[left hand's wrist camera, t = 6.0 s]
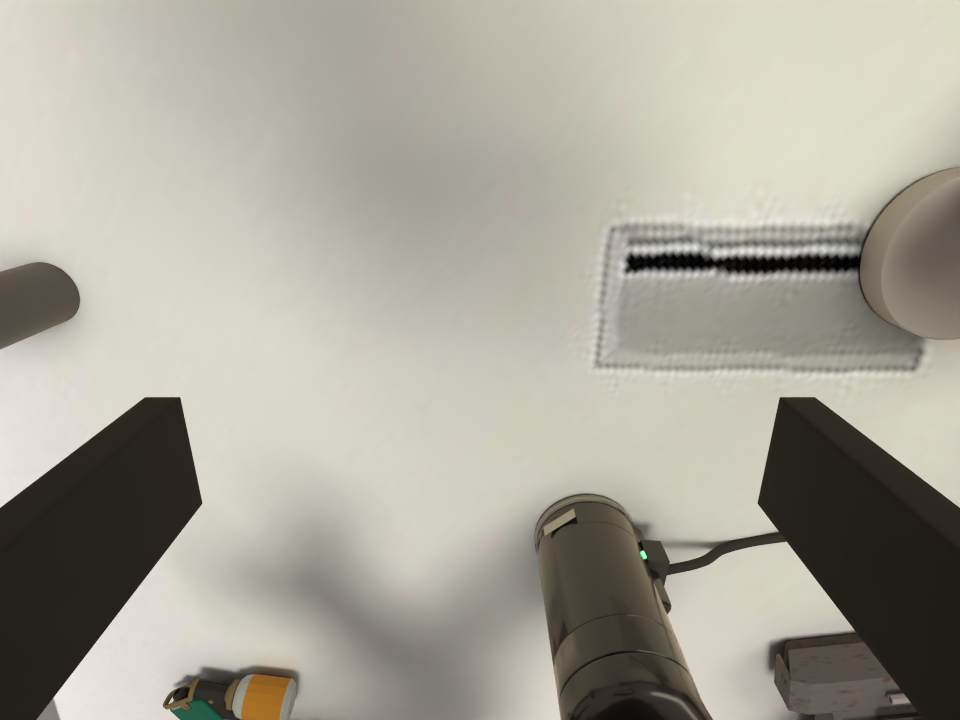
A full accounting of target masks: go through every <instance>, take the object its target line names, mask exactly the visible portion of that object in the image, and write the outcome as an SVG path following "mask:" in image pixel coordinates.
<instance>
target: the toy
mask: <svg viewBox="0 0 960 720" xmlns="http://www.w3.org/2000/svg"><path fill="white" fill-rule="evenodd" d="M774 683H775V685H776V687H777V689H778V691H779V693H780V694H781V696H782V698H783V700H784V702H785V704H786V706H787V708H788V710H790V711H795V712H799V713H803V714H808V715H811V714H815V720H924V719H923V718H922V717H921V716H920V714H919V713H918V712H917V710H916V709H915V708H914V706H913V705H912V704H911V703H910V701H909V700H908V699H907V697H906V696H905V695H904V693H903V692H902V691H901V690H900V688H899V687H898V686H897V684H896V683H895V682H894V680H893V679H892V678H891V676H890V675H889V674H888V673H887V671H886V670H885V669H884V667H883V666H882V665H881V663H880V662H879V661H878V660H877V658H876V657H875V656H874V654H873V653H872V652H871V650H870V649H869V648H868V647H867V645H866V644H865V643H864V641H863V640H862V639H861V637H860V636H859V635H858V634H849V635H839V636H830V637H820V638H811V639H802V640H792V641H788V642H787V643H786V645H785V653H784V661H783V659H782V657H781V656H780V654H776V662H775V677H774Z"/></svg>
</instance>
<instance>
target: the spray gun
mask: <svg viewBox="0 0 960 720" xmlns="http://www.w3.org/2000/svg"><path fill="white" fill-rule="evenodd" d="M296 691H297V685H296V683H295V681H294V679H292V678H284V677H275V676H267V675H259V674H251V675H247V676H246V677H244V678H243V679H242V680H241V679H235V681H234V682H233V683H232V684H231V685H230V686H229V687H228V686H226V685H222V684H217V683H212V682H207V681H202V680H201V679H199V678H196V679H195V680H194V682H193V683H192V684H189V685H187V686H184V687H181V688H178V689H175V690H173V691H172V692H171V693H170V694H169V695H168V696H167V698H166V700H165V701H164V704H163V707H164V708H165V709H169V708H170V710H171V712H172V713H174V714H175V715H176V716H177V717H178V718H179V719H180V720H288V719H289V717H290V715H291V712H292V709H293V705H294V701H295V697H296ZM172 697H173V699H174V701H173V702H172V703H171V704H168V703H169V702H170V700H171V698H172Z"/></svg>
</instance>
